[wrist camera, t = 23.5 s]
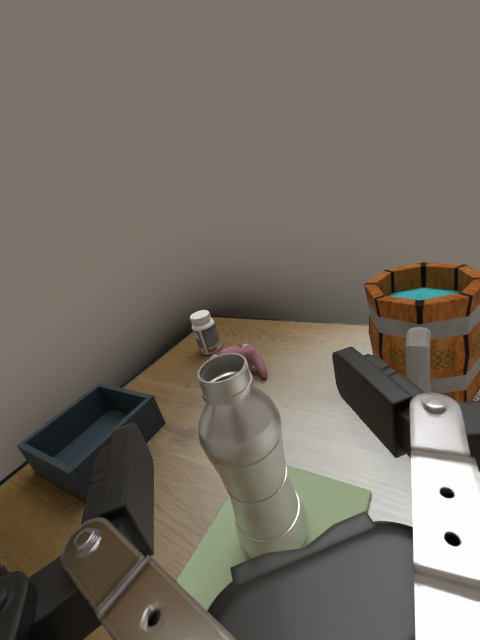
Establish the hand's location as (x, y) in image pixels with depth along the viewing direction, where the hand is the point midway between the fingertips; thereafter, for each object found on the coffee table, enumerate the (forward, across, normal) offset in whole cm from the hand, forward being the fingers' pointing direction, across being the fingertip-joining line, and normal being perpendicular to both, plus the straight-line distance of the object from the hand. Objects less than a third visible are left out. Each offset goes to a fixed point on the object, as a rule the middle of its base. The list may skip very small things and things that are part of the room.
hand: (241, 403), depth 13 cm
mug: (+20, -25, +25) cm, 41 cm away
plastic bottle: (+10, 0, +24) cm, 26 cm away
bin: (+33, +20, +25) cm, 46 cm away
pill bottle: (+52, 0, +25) cm, 58 cm away
